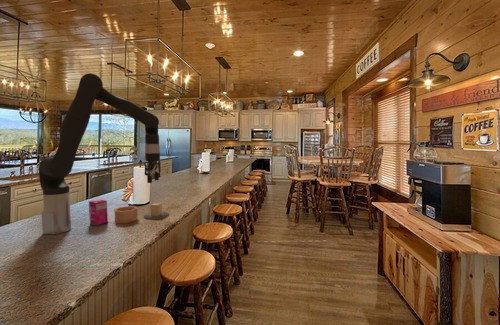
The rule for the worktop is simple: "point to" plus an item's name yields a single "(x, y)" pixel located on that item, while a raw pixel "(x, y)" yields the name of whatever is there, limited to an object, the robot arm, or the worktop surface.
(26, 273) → the worktop surface
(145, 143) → the robot arm
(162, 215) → the lid
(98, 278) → the worktop surface
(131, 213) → the bowl
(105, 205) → the supplement box
